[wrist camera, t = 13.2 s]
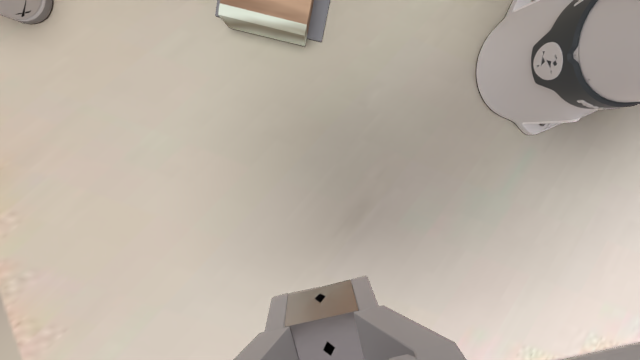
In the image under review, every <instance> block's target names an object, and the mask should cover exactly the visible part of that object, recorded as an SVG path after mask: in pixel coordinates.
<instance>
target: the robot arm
mask: <svg viewBox="0 0 640 360" xmlns="http://www.w3.org/2000/svg"><path fill="white" fill-rule="evenodd" d="M532 1H533V2H531V0H513V2H512V4H511V5H510V8H509V10H508V12H507V14H506V16H505V18H504V19H503V20H502V21H501V22H500V23H499V24H498V25H497V26H496V28H495V29H494V30H493V31H492V32H491V33H490V34H489V36H488V37H487V39H486V41H485V42H484V44H483V46H482V48H481V51H480V54H479V57H478V62H477V70H476V76H477V84H478V88H479V91H480V94H481V96H482V98H483V100H484V101H485V103H486V104H487V105H488V106H489V108H490V109H492V110H493V111H494V112H495V113H497V114H498V115H500V116H502V117H504V118H507V119H509V120H511V121H513V122H514V123H515V124H516V125H517V126H518V127H519V128H520V130H521V131H522V132H524V133H525V134H527V135H535V134H539V133H541V132H543V131H546V130H548V129H550V128H552V127H555V126H557V125H559V124H562V123H568V122H576V121H579V120H580V118H581V117H584V116H587V115H589V114H591V113H593V112H595V111H597V110H599V109H616V108H620V107H628V106H634V105H637V104H640V0H532ZM539 124H541V125H539ZM234 360H466V359H465V357H464V355H463V354H462V352H461V351H460V349H459V348H458V346H457V345H456V343H455V342H453V341H451V340H449V339H447V338H445V337H443V336H441V335H439V334H438V333H436V332H434V331H432V330H430V329H428V328H426V327H424V326H422V325H420V324H418V323H416V322H414V321H413V320H411V319H409V318H407V317H405V316H403V315H401V314H399V313H397V312H395V311H393V310H391V309H389V308H388V307H386V306H378V303H377V300H376V298H375V295H374V293H373V290H372V287H371V285H370V282H369V280H368V277H367V276H362V277H359V278H355V279H351V280H347V281H343V282H339V283H335V284H331V285H327V286H323V287H317V288H312V289H307V290H302V291H297V292H292V293H289V294H288V293H287V294H282V295H278V296H274V297H273V298H272V299H271V303H270V308H269V313H268V318H267V322H266V327H265V332H262V333H259V334H258V335H257V336H256V337H255V338H254V339H253V340H252V341H251V342H250V343H249V344H248V345H247V346H246V347H245V348H244V349H243V350H242V352H241V353H240V354H239V355H238V356H237V357H236V358H235V359H234ZM562 360H640V342H638V343H634V344H629V345H625V346H620V347H616V348H611V349H607V350H602V351H598V352H593V353H589V354H584V355H580V356H575V357H571V358H566V359H562Z"/></svg>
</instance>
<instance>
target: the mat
mask: <svg viewBox="0 0 640 360" xmlns="http://www.w3.org/2000/svg"><path fill="white" fill-rule="evenodd" d="M329 3H330V0H314V3H313V8H312V13H311V18H310V23H309V29H308V34H307V39H310V40H314V41H318V42H322V37H323V32H324V27H325V22H326V18H327V13H328V8H329ZM219 4H220V0H217V7H216V14H215V15H216V16H217V17H220V16H219V15H218V11H219Z"/></svg>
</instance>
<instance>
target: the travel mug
mask: <svg viewBox="0 0 640 360" xmlns="http://www.w3.org/2000/svg"><path fill="white" fill-rule="evenodd" d="M51 8H52V0H0V15H2V16H5V17H8V18H11V19H14V20H17V21H20V22H23V23H27V24H35V23H39V22H41V21H43V20H44V19H45V18H47V16H48V15H49V14H50V11H51Z"/></svg>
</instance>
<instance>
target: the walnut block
mask: <svg viewBox="0 0 640 360" xmlns="http://www.w3.org/2000/svg"><path fill="white" fill-rule="evenodd" d="M313 3H314V0H220V4H219V11H218V15H219V16H220V17H221V19H222V20H223V21H224V22H225V23H226V24H227V26H228V27H229V28H232V29H236V30H240V31H244V32H248V33H252V34H256V35H261V36H265V37H269V38H273V39H277V40H281V41H285V42H289V43H294V44H298V45H302V46H305V44H306V39H307V34H308V29H309V23H310V18H311V13H312V8H313Z"/></svg>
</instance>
